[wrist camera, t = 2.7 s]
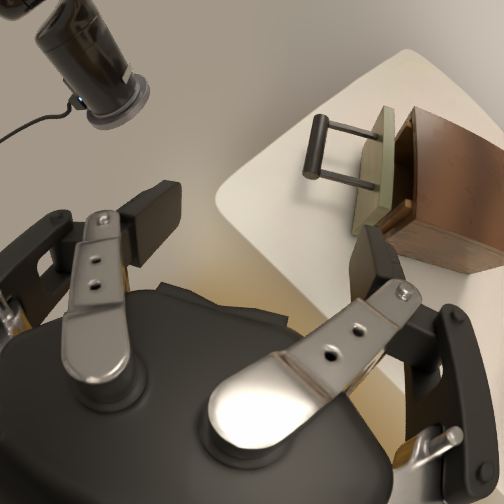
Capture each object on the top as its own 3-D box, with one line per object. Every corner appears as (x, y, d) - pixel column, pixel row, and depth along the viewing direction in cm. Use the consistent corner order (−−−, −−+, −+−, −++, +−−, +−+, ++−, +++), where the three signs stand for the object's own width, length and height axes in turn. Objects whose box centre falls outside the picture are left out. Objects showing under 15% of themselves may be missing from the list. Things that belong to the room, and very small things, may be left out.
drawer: (292, 219, 31) (299, 185, 22) (310, 135, 33) (319, 87, 24) (448, 261, 29) (493, 245, 20) (450, 179, 31) (485, 149, 22)
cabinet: (373, 247, 31) (416, 219, 20) (383, 155, 33) (414, 105, 22) (468, 274, 29) (522, 259, 18) (469, 188, 31) (512, 155, 21)
